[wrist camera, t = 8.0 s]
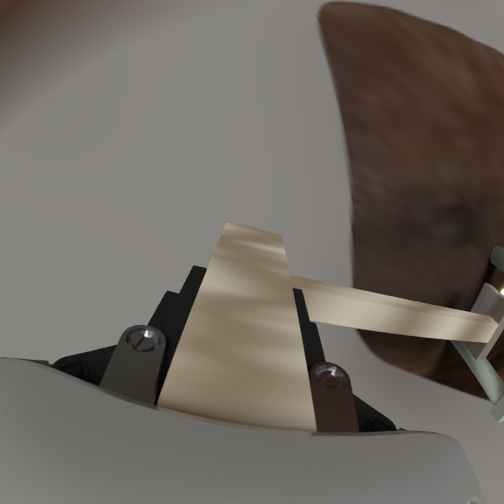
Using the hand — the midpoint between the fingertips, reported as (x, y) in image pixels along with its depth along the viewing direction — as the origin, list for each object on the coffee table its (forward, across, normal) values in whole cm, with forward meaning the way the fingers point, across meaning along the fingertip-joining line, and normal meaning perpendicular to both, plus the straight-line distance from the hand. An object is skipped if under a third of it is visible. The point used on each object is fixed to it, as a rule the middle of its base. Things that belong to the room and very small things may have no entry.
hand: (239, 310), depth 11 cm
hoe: (+5, -9, 0) cm, 10 cm away
